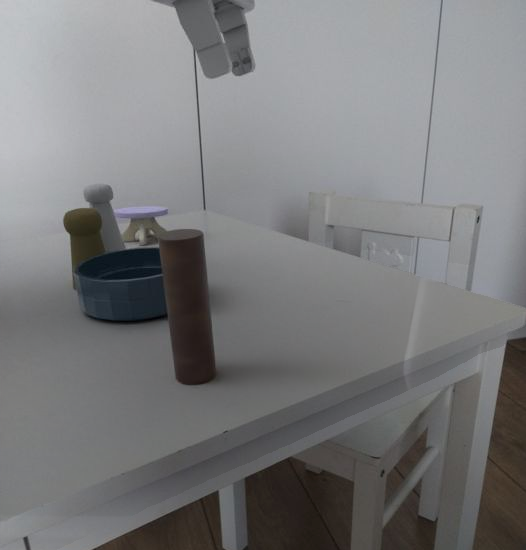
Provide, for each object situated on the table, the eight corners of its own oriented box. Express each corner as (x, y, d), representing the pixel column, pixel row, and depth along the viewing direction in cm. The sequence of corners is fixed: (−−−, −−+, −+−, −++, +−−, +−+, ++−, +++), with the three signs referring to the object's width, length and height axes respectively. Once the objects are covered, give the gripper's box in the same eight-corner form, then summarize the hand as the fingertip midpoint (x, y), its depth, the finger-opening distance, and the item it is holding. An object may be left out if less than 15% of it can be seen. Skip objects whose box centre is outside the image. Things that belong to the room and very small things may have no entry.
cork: (66, 285, 84) (51, 210, 79) (104, 275, 88) (91, 203, 83) (83, 294, 80) (68, 215, 75) (122, 284, 83) (110, 208, 79)
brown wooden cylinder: (171, 385, 54) (152, 240, 48) (179, 366, 58) (163, 229, 52) (213, 384, 54) (199, 239, 48) (218, 365, 58) (206, 227, 52)
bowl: (63, 325, 69) (54, 282, 67) (102, 285, 83) (96, 248, 81) (186, 323, 68) (181, 279, 66) (205, 282, 82) (202, 245, 80)
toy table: (111, 246, 104) (106, 214, 101) (128, 234, 112) (123, 204, 109) (163, 245, 102) (159, 213, 100) (176, 233, 110) (173, 203, 108)
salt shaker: (84, 273, 89) (68, 188, 84) (104, 262, 94) (90, 181, 89) (117, 274, 88) (103, 188, 82) (135, 264, 93) (123, 181, 87)
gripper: (169, -90, 47) (224, 85, 53) (50, -186, 29) (153, 95, 35) (239, -123, 46) (289, 61, 51) (160, -247, 28) (250, 58, 33)
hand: (234, 75), depth 43 cm, fingers open, 8 cm apart
